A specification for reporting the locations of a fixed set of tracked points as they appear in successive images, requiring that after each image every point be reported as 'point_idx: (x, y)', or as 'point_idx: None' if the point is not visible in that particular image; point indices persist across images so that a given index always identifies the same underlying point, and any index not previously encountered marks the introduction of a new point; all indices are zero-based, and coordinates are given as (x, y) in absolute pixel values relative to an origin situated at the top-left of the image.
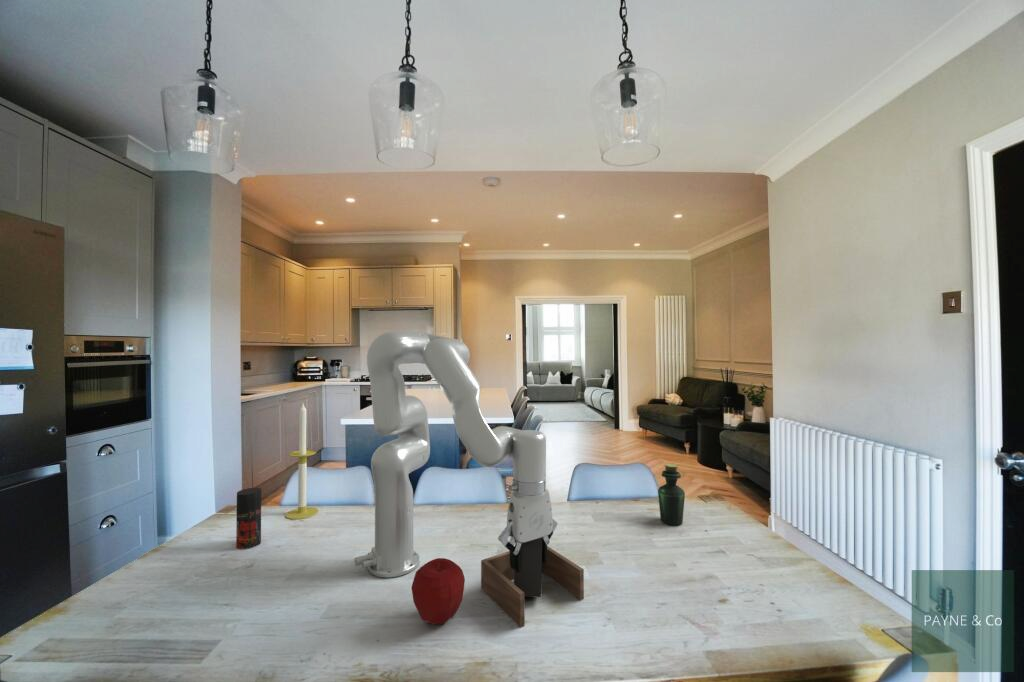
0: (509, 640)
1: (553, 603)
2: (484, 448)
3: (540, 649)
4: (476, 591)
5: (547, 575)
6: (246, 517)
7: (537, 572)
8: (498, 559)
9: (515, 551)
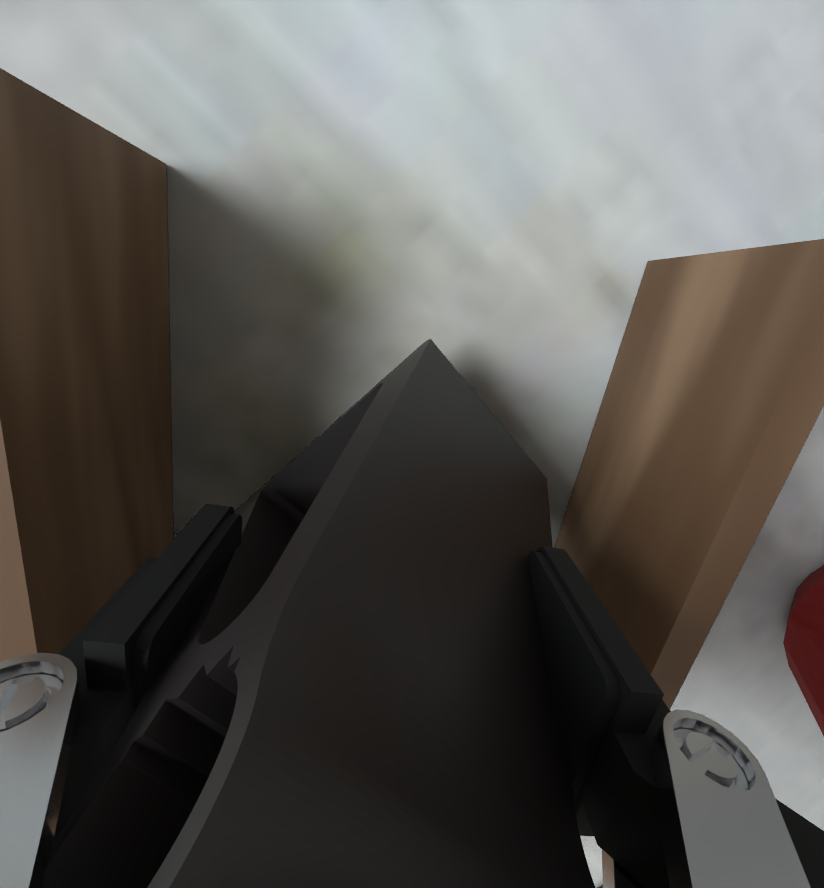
0: (800, 230)
1: (348, 289)
2: None
3: (775, 2)
4: None
5: (171, 518)
6: None
7: (419, 437)
8: None
9: (731, 769)
